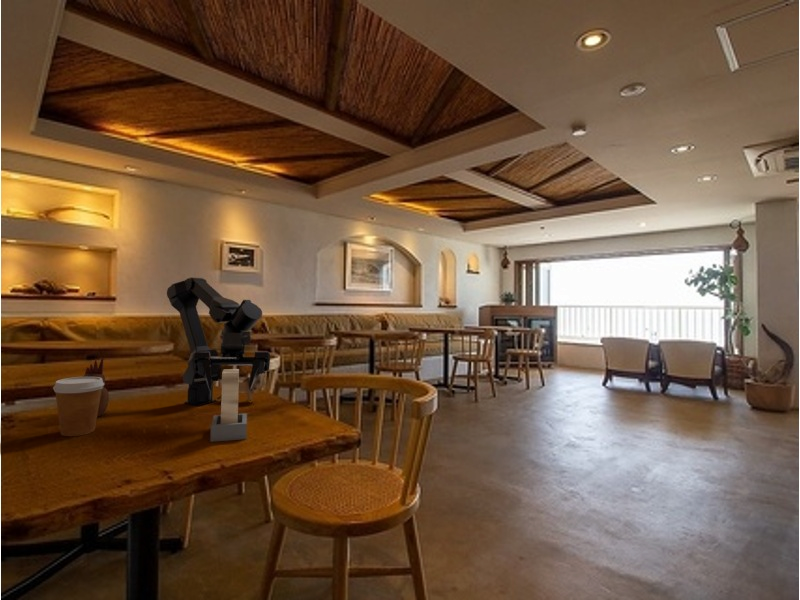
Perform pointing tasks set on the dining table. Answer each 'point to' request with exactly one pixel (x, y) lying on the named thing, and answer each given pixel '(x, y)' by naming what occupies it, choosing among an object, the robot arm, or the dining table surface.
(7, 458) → the dining table surface
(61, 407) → the disposable coffee cup
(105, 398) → the wooden figurine
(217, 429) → the end cap
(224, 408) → the slat
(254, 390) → the lion figurine
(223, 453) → the dining table surface
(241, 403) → the dining table surface
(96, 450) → the dining table surface
